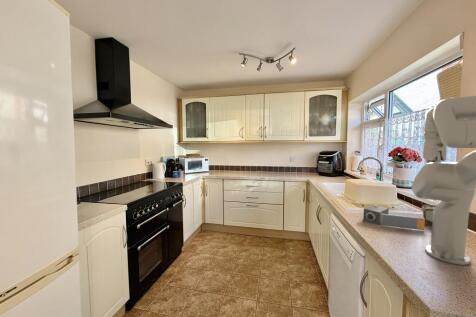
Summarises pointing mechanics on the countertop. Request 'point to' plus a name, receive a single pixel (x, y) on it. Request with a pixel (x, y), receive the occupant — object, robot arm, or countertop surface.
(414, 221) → the side door
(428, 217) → the food container
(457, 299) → the countertop surface
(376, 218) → the camera housing
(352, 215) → the countertop surface
